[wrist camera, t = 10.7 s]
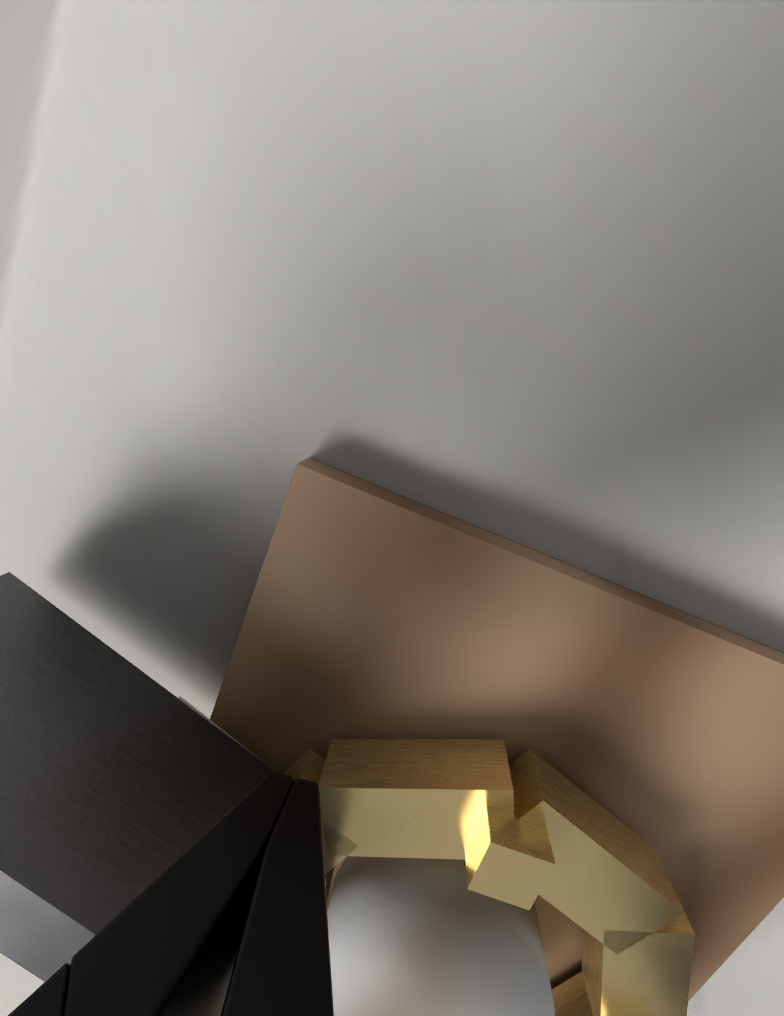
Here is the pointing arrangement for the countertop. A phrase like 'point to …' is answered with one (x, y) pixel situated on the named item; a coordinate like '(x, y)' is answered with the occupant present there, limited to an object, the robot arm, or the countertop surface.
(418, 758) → the gold ring with handle
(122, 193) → the countertop surface
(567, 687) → the flange board
